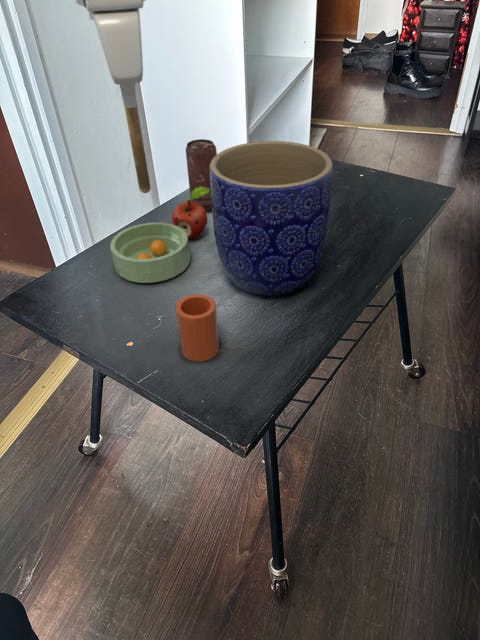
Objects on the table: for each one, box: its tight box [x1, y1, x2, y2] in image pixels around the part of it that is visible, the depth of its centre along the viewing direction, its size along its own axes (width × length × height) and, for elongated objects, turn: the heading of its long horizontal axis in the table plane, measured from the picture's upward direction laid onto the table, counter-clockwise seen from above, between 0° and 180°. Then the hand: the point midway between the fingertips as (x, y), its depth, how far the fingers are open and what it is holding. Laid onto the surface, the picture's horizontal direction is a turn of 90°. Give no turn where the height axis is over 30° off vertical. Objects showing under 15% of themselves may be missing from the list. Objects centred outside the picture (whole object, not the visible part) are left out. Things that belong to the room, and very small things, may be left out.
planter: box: [210, 140, 334, 297], centre depth 77 cm, size 18×18×21 cm
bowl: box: [109, 222, 191, 284], centre depth 86 cm, size 14×14×5 cm
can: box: [185, 138, 218, 214], centre depth 101 cm, size 6×6×14 cm
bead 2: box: [150, 240, 167, 256], centre depth 88 cm, size 3×3×3 cm
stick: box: [123, 105, 151, 194], centre depth 70 cm, size 2×2×19 cm
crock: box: [175, 293, 220, 363], centre depth 67 cm, size 5×5×8 cm
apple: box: [171, 186, 210, 240], centre depth 92 cm, size 8×7×10 cm
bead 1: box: [137, 253, 152, 259], centre depth 85 cm, size 3×3×3 cm
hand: (129, 103), depth 68 cm, fingers closed on stick, 2 cm apart
